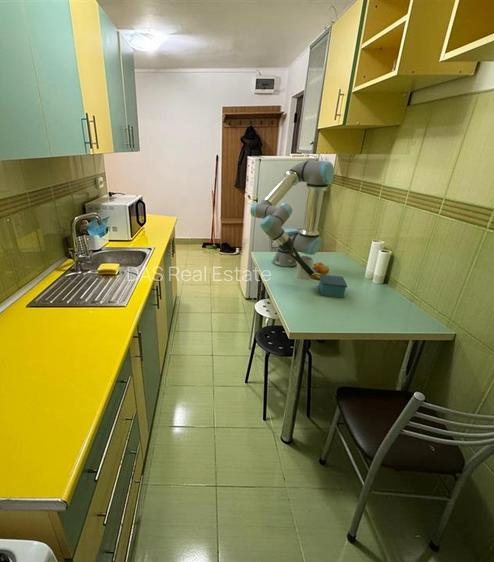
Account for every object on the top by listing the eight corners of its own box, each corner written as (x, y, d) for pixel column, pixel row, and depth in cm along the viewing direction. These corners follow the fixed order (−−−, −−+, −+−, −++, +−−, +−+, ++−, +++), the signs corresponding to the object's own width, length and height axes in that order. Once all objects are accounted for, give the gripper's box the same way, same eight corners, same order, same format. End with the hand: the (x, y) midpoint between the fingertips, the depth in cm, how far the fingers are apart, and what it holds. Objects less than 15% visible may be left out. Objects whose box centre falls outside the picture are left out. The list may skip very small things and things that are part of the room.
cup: (295, 273, 169) (298, 255, 164) (309, 275, 167) (312, 256, 162) (295, 279, 162) (298, 259, 157) (310, 280, 160) (313, 261, 156)
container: (318, 285, 172) (320, 274, 169) (340, 288, 169) (342, 276, 166) (320, 295, 160) (323, 283, 157) (344, 298, 158) (347, 286, 155)
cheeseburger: (306, 272, 190) (313, 258, 185) (323, 278, 188) (330, 264, 183) (306, 277, 181) (313, 263, 176) (323, 284, 179) (331, 269, 174)
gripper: (274, 240, 168) (299, 268, 173) (281, 252, 149) (309, 283, 155) (285, 231, 165) (310, 260, 171) (293, 242, 147) (321, 274, 152)
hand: (309, 271), depth 163 cm, fingers closed on cup, 7 cm apart
